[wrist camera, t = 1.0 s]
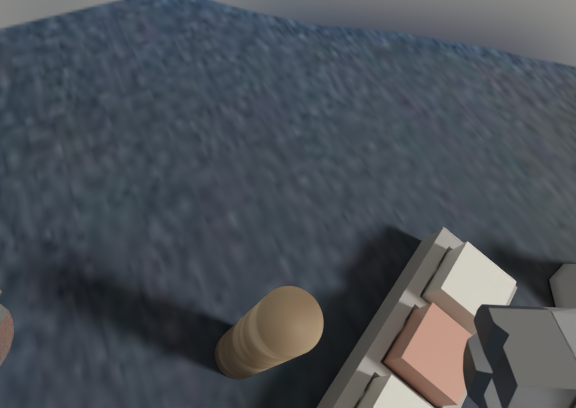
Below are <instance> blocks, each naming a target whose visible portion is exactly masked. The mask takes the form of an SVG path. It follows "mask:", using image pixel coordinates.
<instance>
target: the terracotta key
mask: <svg viewBox="0 0 576 408" xmlns="http://www.w3.org/2000/svg"><path fill="white" fill-rule="evenodd" d="M471 336H473V335H472V334H470V333H469V332H468V331H467V330H466V329H464V328H463V327H462V326H461V325H460V324H458V323H457V322H456V321H455V320H453V319H452V318H451V317H450V316H449V315H447V314H446V313H445V312H444V311H443V310H441V309H440V308H439V307H438V306H437V305H435V304H434V303H433V302H432V303H430V304H428V305H425V306H423V307H420V308H418V309H415V310H413V312H412V314H411V315H410V317H409V319H408V320H407V322H406V324H405V326H404V327H403V329H402V331H401V332H400V334H399V336H398V337H397V339H396V341H395V343H394V344H393V346H392V348H391V349H390V351H389V353H388V354H387V356H386V358H385V360H384V361H383V363H384V364H385V365H387V366H388V367H389V368H390V369H391V370H393V371H394V372H395V373H396V374H397V375H399V376H400V377H401V378H402V379H403V380H405V381H406V382H407V383H408V384H409V385H411V386H412V387H413V388H414V389H415V390H416V391H418V392H419V393H420V394H421V395H422V396H424V397H425V398H426V399H427V400H428V401H430V402H431V403H432V404H433V405H434V406H436V407H438V406H450V405H458V404H459V402H460V400H461V398H462V396H463V393H464V391H465V389H466V387H465V383H464V376H463V353H464V349H465V346H466V342H467V339H468V338H470V337H471Z"/></svg>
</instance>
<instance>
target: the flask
mask: <svg viewBox="0 0 576 408" xmlns="http://www.w3.org/2000/svg"><path fill="white" fill-rule="evenodd" d="M549 281H550V286H551V290H552V294H553V298H554V302H555V306H556V308H575V309H576V264H563V265H562V266H561V267H560V268H559V269H558V271H557V272H556V273H555V274H554V275H553V276H552V277H551V278H550V279H549Z"/></svg>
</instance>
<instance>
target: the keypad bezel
mask: <svg viewBox="0 0 576 408" xmlns="http://www.w3.org/2000/svg"><path fill="white" fill-rule="evenodd" d="M462 244H464V243H463V242H462V241H460V240H459V239H458V238H457V237H455V236H454V235H453V234H452V233H451V232H449V231H448V230H447V229H446V228H445V227H443V228H441V229H440V230H438V231H437V232H435V233H433V234H432V235H430V236H429V237H427V238H425V239H424V240H422V241H421V243H420V244H419V246H418V248H417V249H416V251H415V252H414V254H413V256H412V257H411V259H410V260H409V262H408V263H407V265H406V267H405V268H404V270H403V271H402V273H401V275H400V276H399V278H398V279H397V281H396V282H395V284H394V286H393V287H392V289H391V290H390V292H389V294H388V295H387V297H386V298H385V300H384V301H383V303H382V305H381V306H380V308H379V309H378V311H377V313H376V314H375V316H374V317H373V319H372V320H371V322H370V324H369V325H368V327H367V328H366V330H365V332H364V333H363V335H362V336H361V338H360V339H359V341H358V343H357V344H356V346H355V347H354V349H353V351H352V352H351V354H350V355H349V357H348V358H347V360H346V362H345V363H344V365H343V366H342V368H341V370H340V371H339V373H338V374H337V376H336V377H335V379H334V381H333V382H332V384H331V385H330V387H329V389H328V390H327V392H326V393H325V395H324V396H323V398H322V400H321V401H320V403H319V404H318V406H317V408H356V407H357V406H358V404H359V402H360V400H361V399H362V397H363V395H364V394H365V392H366V390H367V389H368V387H369V385H370V383H371V382H372V380H373V378H377V377H382V376H386V375H391V374H392V375H393V376H394V377H396V378H397V379H398V380H399V381H400V382H402V383H403V384H404V385H405V386H406V387H407V388H409V389H410V390H411V391H412V392H413V393H415V394H416V395H417V396H418V397H419V398H421V399H422V400H423V401H424V402H425V403H427V404H428V405H429V406H430V407H431V408H461V406H462V404H463V402H464V400H465V397H466V395H467V391H466V389H465V391H464V393H463V396H462V398H461V400H460V402H459V404H458V405H450V406H438V407H436V406H434V405H433V404H432V403H431V402H430V401H428V400H427V399H426V398H425V397H424V396H422V395H421V394H420V393H419V392H418V391H416V390H415V389H414V388H413V387H412V386H411V385H409V384H408V383H407V382H406V381H405V380H403V379H402V378H401V377H400V376H399V375H397V374H396V373H395V372H394V371H393V370H391V369H390V368H389V367H388V366H387V365H385V364H384V363H383V361H384V360H385V358H386V356H387V354H388V353H389V351H390V349H391V348H392V346H393V344H394V343H395V341H396V339H397V337H398V336H399V334H400V332H401V331H402V329H403V327H404V326H405V324H406V322H407V320H408V319H409V317H410V315H411V314H412V312H413V310H415V309H418V308H420V307H423V306H425V305H428V304H429V303H428V302H427V301H426V300H425V299H423V298H422V295H423V293H424V291H425V290H426V288H427V286H428V285H429V283H430V281H431V280H432V278H433V276H434V274H435V273H436V271H437V269H438V268H439V266H440V264H441V263H442V261H443V259H444V257H445V256H446V254H447V252H449V251H451V250H453V249H454V248H456V247H458V246H460V245H462ZM516 289H517V287H516V286H514V288H513V291H512V293H511V295H510V297H509V299H508V301H507V303H506V305H509V304H510V302H511V300H512V298H513V296H514V294H515V291H516Z"/></svg>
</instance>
